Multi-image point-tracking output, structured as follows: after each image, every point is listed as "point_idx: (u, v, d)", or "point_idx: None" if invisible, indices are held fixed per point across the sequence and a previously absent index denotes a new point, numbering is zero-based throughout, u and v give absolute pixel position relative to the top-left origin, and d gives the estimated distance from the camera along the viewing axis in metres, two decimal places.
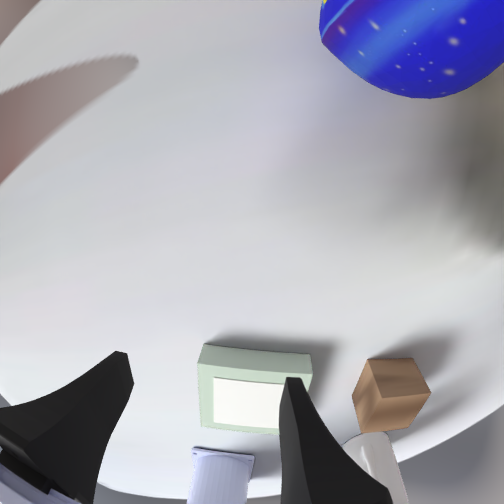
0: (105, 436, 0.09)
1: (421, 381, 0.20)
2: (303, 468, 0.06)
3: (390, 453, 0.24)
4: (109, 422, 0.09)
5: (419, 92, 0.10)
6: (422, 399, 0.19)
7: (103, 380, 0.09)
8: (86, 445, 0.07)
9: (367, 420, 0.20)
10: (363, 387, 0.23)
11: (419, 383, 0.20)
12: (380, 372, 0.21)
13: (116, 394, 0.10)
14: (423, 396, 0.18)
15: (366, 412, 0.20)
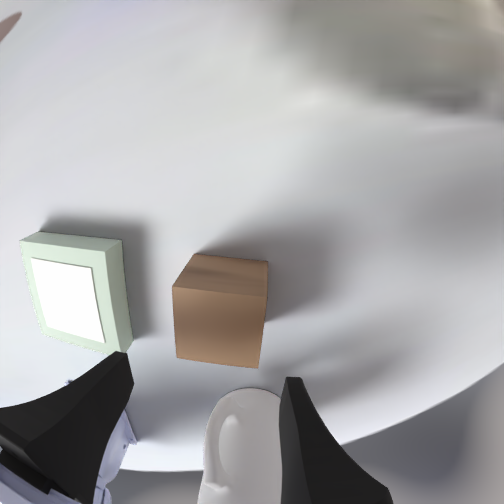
0: (104, 436, 0.09)
1: (260, 283, 0.16)
2: (303, 468, 0.06)
3: (272, 422, 0.20)
4: (109, 422, 0.09)
5: None
6: (254, 308, 0.15)
7: (103, 380, 0.09)
8: (86, 445, 0.07)
9: (175, 333, 0.16)
10: None
11: (255, 283, 0.16)
12: (198, 265, 0.18)
13: (116, 394, 0.10)
14: (252, 300, 0.15)
15: None
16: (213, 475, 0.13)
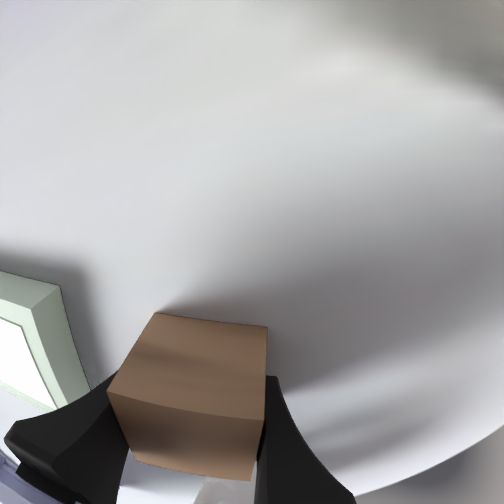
0: (126, 444, 0.09)
1: (253, 384, 0.09)
2: (266, 467, 0.06)
3: None
4: None
5: None
6: (242, 431, 0.08)
7: None
8: (109, 454, 0.07)
9: (128, 438, 0.09)
10: None
11: (244, 386, 0.09)
12: (155, 341, 0.10)
13: None
14: (238, 423, 0.07)
15: None
16: None
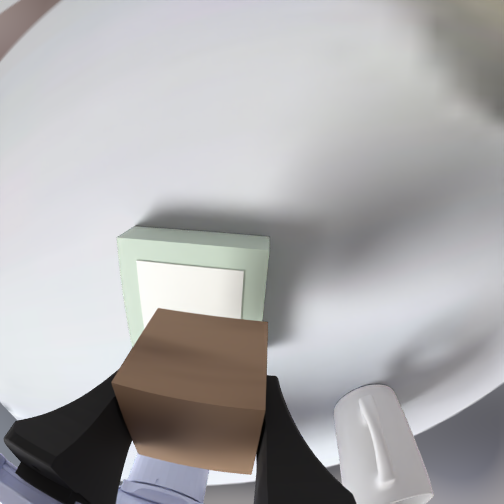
0: (126, 443, 0.09)
1: (254, 376, 0.09)
2: (266, 467, 0.06)
3: (400, 413, 0.19)
4: None
5: None
6: (244, 422, 0.08)
7: None
8: (109, 454, 0.07)
9: (131, 430, 0.09)
10: None
11: (246, 377, 0.09)
12: (159, 335, 0.11)
13: None
14: (240, 413, 0.08)
15: None
16: (391, 471, 0.12)
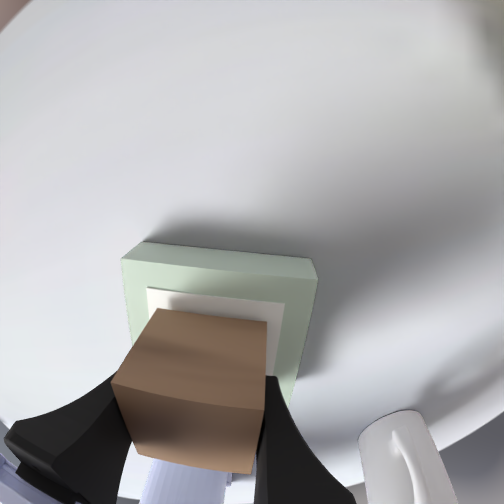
0: (126, 444, 0.09)
1: (253, 376, 0.09)
2: (266, 467, 0.06)
3: (430, 440, 0.15)
4: None
5: None
6: (243, 421, 0.08)
7: None
8: (109, 454, 0.07)
9: (131, 430, 0.09)
10: None
11: (245, 377, 0.09)
12: (158, 335, 0.11)
13: None
14: (239, 413, 0.08)
15: None
16: None
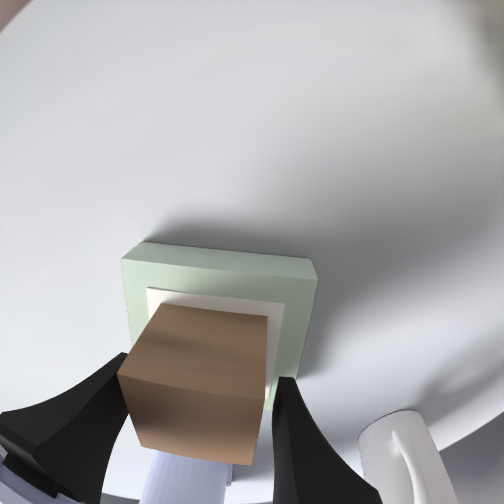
0: (111, 439, 0.09)
1: (254, 367, 0.10)
2: (292, 468, 0.06)
3: (430, 440, 0.15)
4: (115, 424, 0.09)
5: None
6: (245, 411, 0.08)
7: (110, 382, 0.09)
8: (93, 448, 0.07)
9: (135, 422, 0.10)
10: None
11: (246, 368, 0.10)
12: (162, 328, 0.11)
13: (122, 396, 0.10)
14: (241, 402, 0.08)
15: None
16: None
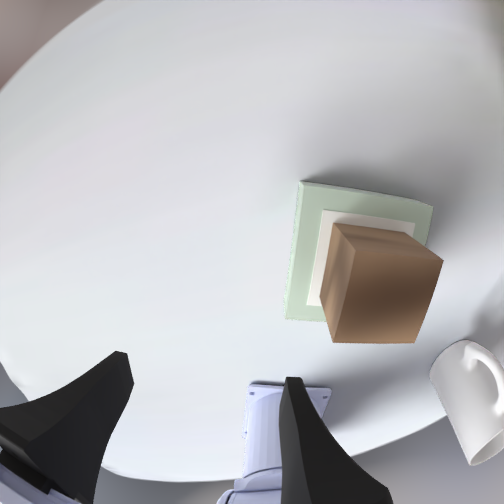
0: (105, 436, 0.09)
1: (424, 249, 0.13)
2: (303, 468, 0.06)
3: None
4: (109, 422, 0.09)
5: None
6: (431, 273, 0.12)
7: (103, 380, 0.09)
8: (86, 445, 0.07)
9: (339, 311, 0.13)
10: (331, 267, 0.16)
11: (421, 249, 0.13)
12: (353, 232, 0.15)
13: (116, 394, 0.10)
14: (431, 264, 0.12)
15: (337, 299, 0.14)
16: None
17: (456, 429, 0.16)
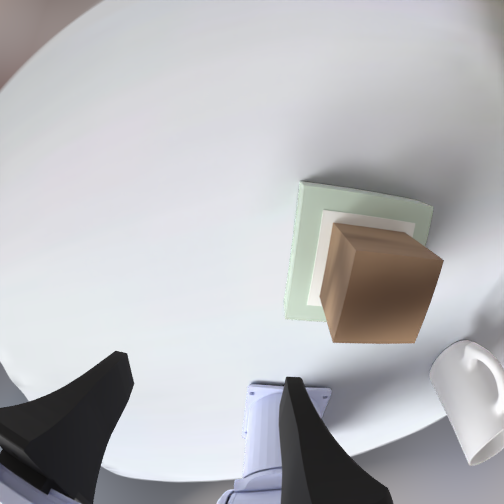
0: (105, 436, 0.09)
1: (424, 249, 0.13)
2: (303, 468, 0.06)
3: None
4: (109, 422, 0.09)
5: None
6: (431, 273, 0.12)
7: (103, 380, 0.09)
8: (86, 445, 0.07)
9: (340, 311, 0.13)
10: (331, 267, 0.16)
11: (421, 249, 0.13)
12: (353, 232, 0.15)
13: (116, 394, 0.10)
14: (431, 264, 0.12)
15: (337, 299, 0.14)
16: None
17: (456, 429, 0.16)
